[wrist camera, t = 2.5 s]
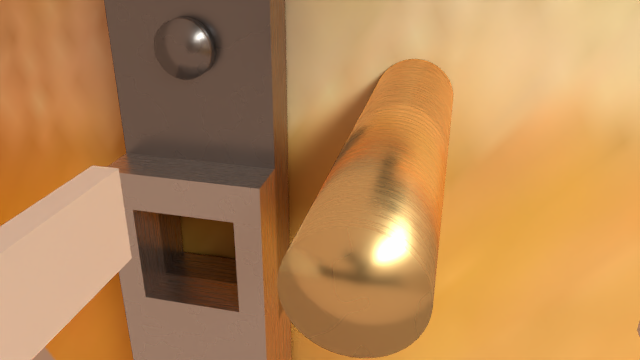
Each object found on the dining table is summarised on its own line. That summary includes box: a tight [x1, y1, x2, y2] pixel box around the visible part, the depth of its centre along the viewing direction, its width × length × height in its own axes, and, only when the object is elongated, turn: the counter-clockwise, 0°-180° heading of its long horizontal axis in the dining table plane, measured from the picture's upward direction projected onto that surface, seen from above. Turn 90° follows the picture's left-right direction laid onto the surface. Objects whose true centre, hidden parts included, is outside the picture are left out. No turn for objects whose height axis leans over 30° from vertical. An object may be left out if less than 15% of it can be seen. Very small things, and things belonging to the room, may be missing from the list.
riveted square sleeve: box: [104, 0, 291, 360], centre depth 27 cm, size 24×7×5 cm, turn 0°
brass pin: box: [277, 59, 453, 358], centre depth 18 cm, size 3×3×14 cm
